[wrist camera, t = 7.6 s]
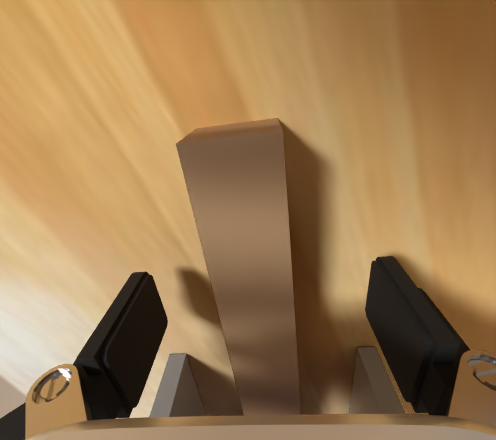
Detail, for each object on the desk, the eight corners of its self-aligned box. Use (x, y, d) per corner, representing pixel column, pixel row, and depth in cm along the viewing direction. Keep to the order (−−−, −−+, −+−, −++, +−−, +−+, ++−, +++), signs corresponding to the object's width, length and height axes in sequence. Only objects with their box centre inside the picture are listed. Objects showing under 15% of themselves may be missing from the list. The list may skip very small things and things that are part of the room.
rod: (198, 127, 10) (175, 143, 7) (277, 116, 10) (282, 130, 7) (263, 445, 22) (264, 495, 19) (300, 444, 21) (306, 496, 19)
